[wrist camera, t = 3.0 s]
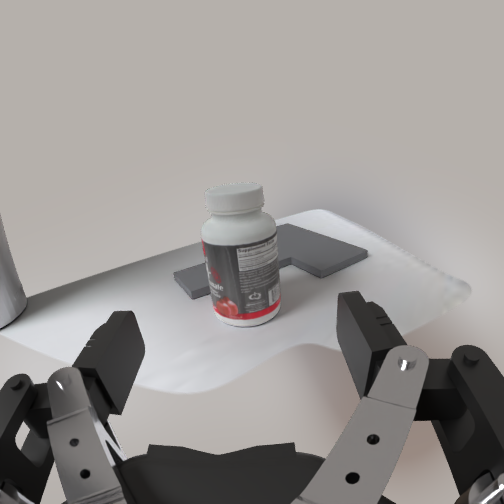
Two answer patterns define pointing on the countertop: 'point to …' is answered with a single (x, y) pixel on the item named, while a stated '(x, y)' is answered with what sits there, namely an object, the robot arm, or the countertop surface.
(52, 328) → the countertop surface
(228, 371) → the countertop surface
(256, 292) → the pill bottle
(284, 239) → the t mat
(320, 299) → the countertop surface
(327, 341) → the countertop surface
